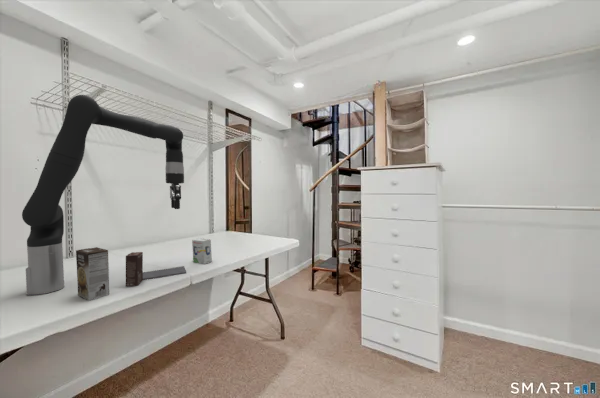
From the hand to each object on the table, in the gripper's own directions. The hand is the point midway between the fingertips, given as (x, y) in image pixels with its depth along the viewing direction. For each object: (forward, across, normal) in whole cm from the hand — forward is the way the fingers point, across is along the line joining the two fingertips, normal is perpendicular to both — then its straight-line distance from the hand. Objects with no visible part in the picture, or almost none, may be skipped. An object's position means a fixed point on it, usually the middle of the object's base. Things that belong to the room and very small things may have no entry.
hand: (175, 208), depth 115 cm
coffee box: (+29, +13, -29) cm, 43 cm away
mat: (+29, +2, -5) cm, 29 cm away
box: (+29, +9, -16) cm, 34 cm away
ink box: (+29, -7, +13) cm, 32 cm away
